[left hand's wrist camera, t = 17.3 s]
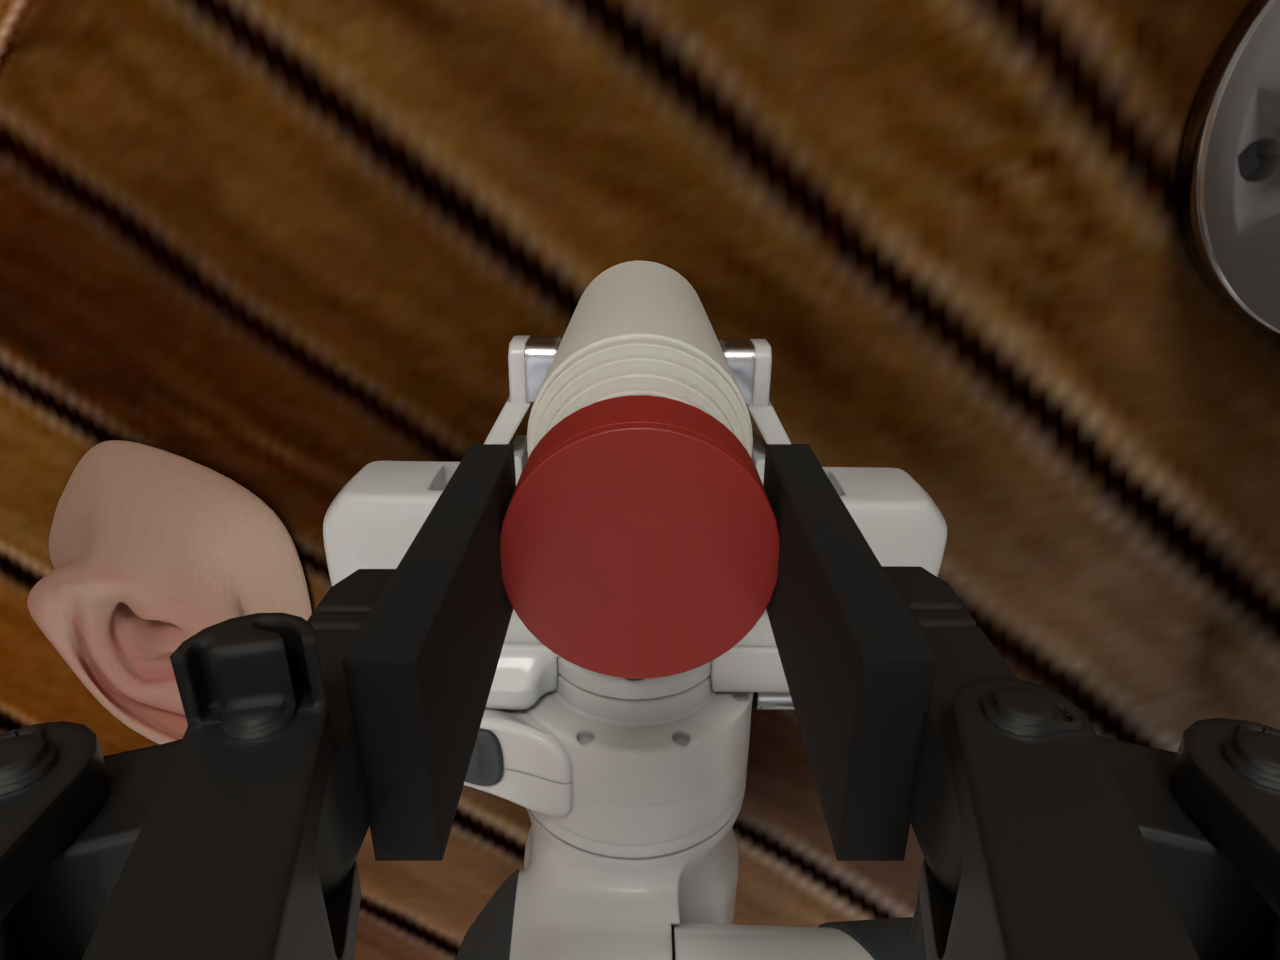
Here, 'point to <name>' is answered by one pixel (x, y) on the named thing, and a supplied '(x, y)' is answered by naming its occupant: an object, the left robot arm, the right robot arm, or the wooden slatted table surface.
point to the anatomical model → (156, 574)
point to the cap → (639, 539)
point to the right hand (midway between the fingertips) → (638, 340)
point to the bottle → (639, 351)
